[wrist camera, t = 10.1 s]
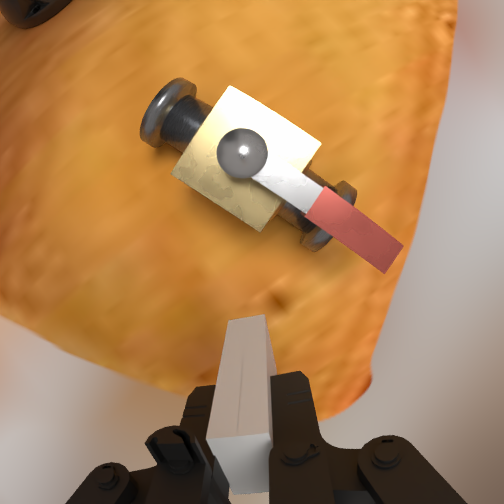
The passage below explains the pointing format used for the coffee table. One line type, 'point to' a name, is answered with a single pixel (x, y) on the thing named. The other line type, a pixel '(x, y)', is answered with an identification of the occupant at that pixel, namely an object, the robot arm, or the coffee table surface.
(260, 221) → the valve body
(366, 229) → the lever
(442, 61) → the coffee table surface
